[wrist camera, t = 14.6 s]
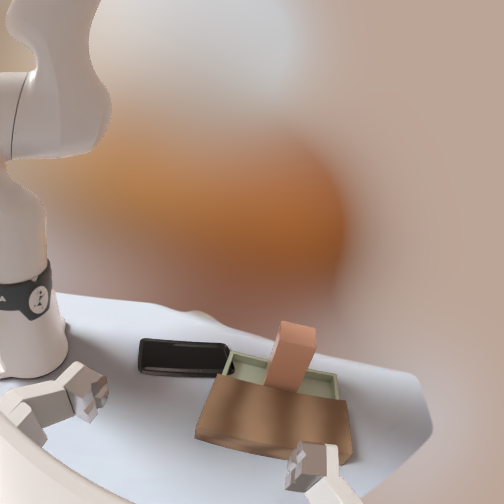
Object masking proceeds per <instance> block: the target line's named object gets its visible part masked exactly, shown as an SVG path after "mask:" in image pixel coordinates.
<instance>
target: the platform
mask: <svg viewBox="0 0 504 504" xmlns="http://www.w3.org/2000/svg"><path fill="white" fill-rule="evenodd" d="M195 438H196V439H199V440H202V441H205V442H209V443H212V444H216V445H219V446H223V447H227V448H231V449H235V450H239V451H243V452H247V453H252V454H257V455H262V456H267V457H272V458H278V459H284V460H288V459H289V457H290V454H291V452H292V451H293V450H294V449H297V444H298V443H299V442H300V441H308V442H316V443H324V444H333V445H337V447H338V456H339V465H343V464H344V463H345V462H346V461H347V460H348V459H349V458H350V457H351V456H352V455H353V452H352V443H351V434H350V426H349V418H348V411H347V404H346V401H344V400H337V399H330V398H324V397H318V396H312V395H306V394H301V393H296V392H291V391H286V390H281V389H276V388H272V387H268V386H263V385H259V384H255V383H251V382H247V381H243V380H239V379H236V378H232V377H228V376H225V375H221V374H217V376H216V379H215V381H214V384H213V386H212V389H211V391H210V394H209V396H208V399H207V401H206V403H205V406H204V408H203V411H202V413H201V416H200V418H199V421H198V423H197V426H196V432H195Z"/></svg>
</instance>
